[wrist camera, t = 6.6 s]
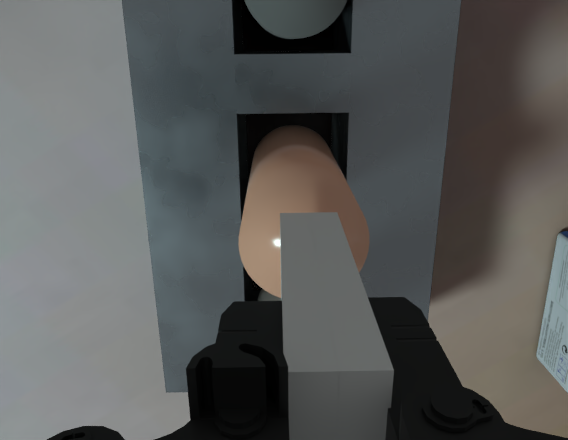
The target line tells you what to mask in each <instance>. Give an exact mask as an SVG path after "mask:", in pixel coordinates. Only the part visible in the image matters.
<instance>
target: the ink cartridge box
mask: <svg viewBox="0 0 568 440" xmlns="http://www.w3.org/2000/svg"><path fill="white" fill-rule="evenodd" d="M536 356H537V358H538V359H539V360H540V362H541V363H542V364H543V365H544V366H545V367H546V369H547V370H548V371H549V372H550V373H551V374H552V375H553V376H554V378H555V379H556V380H557V381H558V382H559V383H560V385H561V386H562V387H563V388H564V389H565V390H566V391H567V392H568V231H563V232H560V233H559V234H558V236H557V242H556V248H555V253H554V259H553V265H552V270H551V276H550V281H549V287H548V292H547V298H546V304H545V309H544V315H543V321H542V326H541V332H540V338H539V344H538V349H537V355H536Z"/></svg>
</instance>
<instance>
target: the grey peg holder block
mask: <svg viewBox="0 0 568 440" xmlns="http://www.w3.org/2000/svg"><path fill="white" fill-rule="evenodd" d="M122 6H123V15H124V24H125V33H126V41H127V50H128V59H129V68H130V77H131V86H132V95H133V103H134V112H135V121H136V130H137V139H138V148H139V157H140V165H141V174H142V183H143V192H144V201H145V210H146V219H147V227H148V236H149V245H150V254H151V263H152V272H153V281H154V289H155V298H156V307H157V316H158V325H159V334H160V343H161V352H162V360H163V369H164V378H165V387H166V392H188V386H187V375H186V367H187V366H188V364H189V362H190V360H191V359H192V357H193V356H194V355H195V354H197V353H198V352H199V351H201V350H202V349H204V348H205V347H207V346H209V345H212V344H215V343H216V338H217V334H218V328H219V323H220V318H221V314H222V313H223V312H224V311H225V310H226V309H227V308H228V307H229V306H230V305H231V304H232V303H233V302H234V301H257V300H258V296H259V293H260V291H261V290H262V289H252V278H251V277H250V276H249V274H248V273H247V271H246V269H245V268H244V265H243V263H242V260H241V257H240V253H239V232H240V226H241V221H242V216H243V210H244V205H245V199H246V194H247V188H248V183H249V181H248V156H247V128H246V114H269V113H331V152H332V154H333V156H334V158H335V160H336V162H337V164H338V166H339V168H340V170H341V171H342V173H343V175H344V177H345V179H346V181H347V183H348V185H349V187H350V189H351V191H352V193H353V195H354V197H355V199H356V201H357V203H358V205H359V207H360V209H361V211H362V212H363V215H364V217H365V219H366V222H367V225H368V229H369V242H370V243H369V251H368V254H367V258H366V261H365V263H364V265H363V267H362V269H361V270H360V272H359V274H360V277H361V280H362V283H363V286H364V288H365V291H366V294H367V297H405V298H406V299H408V300H409V301H410V302H412V303H413V304H414V305H416V306H417V307H418V308H420V309H421V310H422V312H423V314H424V316H425V318H426V319H427V321H428V313H429V303H430V294H431V284H432V274H433V265H434V255H435V246H436V236H437V227H438V217H439V207H440V198H441V188H442V179H443V169H444V160H445V150H446V140H447V131H448V121H449V112H450V102H451V93H452V83H453V73H454V64H455V54H456V45H457V35H458V26H459V16H460V6H461V0H347V2H346V4H345V6H344V8H343V10H342V12H341V13H340V15H339V16H338V17H337V18H336V20H335V21H334V22H333V50H307V51H244V45H243V17H242V0H122Z"/></svg>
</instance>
